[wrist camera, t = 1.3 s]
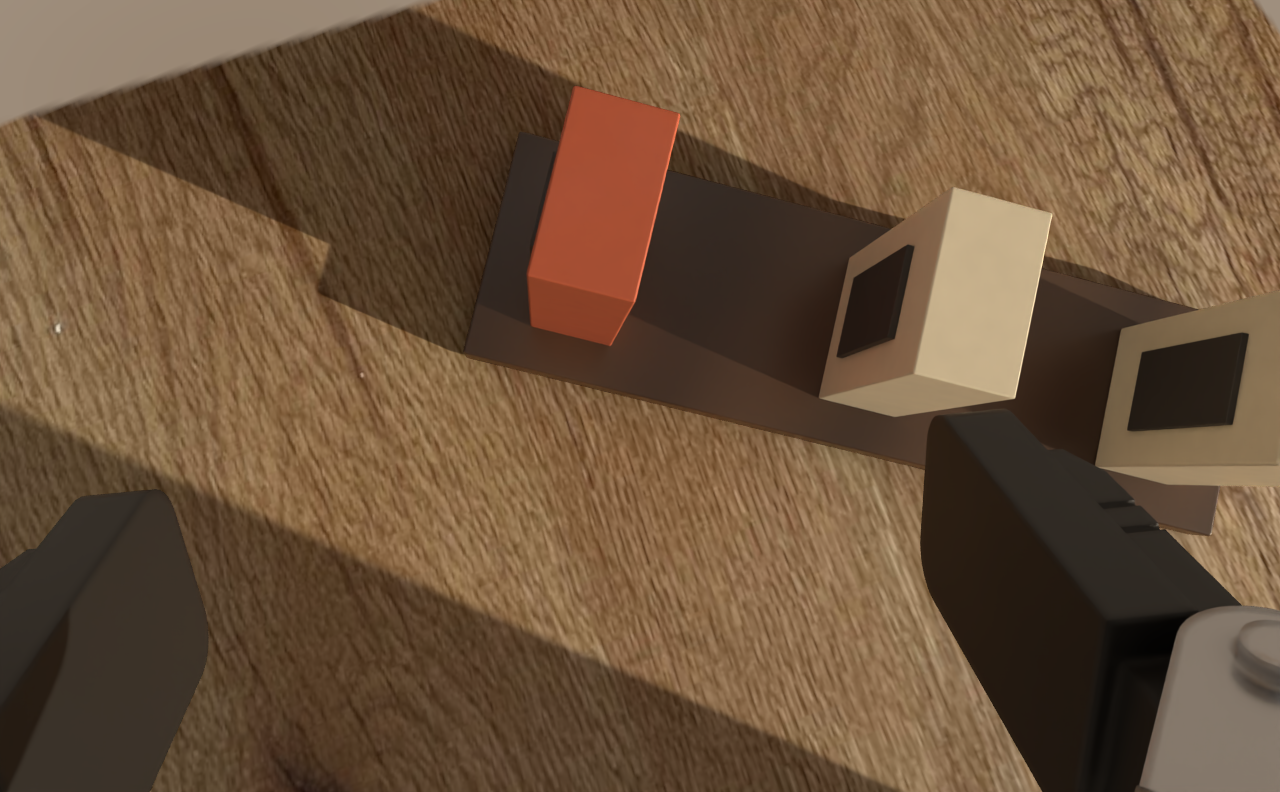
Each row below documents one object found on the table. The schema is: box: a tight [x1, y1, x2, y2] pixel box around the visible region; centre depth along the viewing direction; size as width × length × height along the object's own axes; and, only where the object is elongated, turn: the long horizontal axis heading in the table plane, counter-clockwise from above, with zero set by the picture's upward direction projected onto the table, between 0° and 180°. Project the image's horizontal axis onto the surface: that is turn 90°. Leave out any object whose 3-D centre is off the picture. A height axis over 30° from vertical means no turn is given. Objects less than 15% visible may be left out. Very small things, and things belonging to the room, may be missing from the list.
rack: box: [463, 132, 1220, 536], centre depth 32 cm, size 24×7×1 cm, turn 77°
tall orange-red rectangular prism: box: [527, 86, 680, 346], centre depth 27 cm, size 3×4×8 cm, turn 166°
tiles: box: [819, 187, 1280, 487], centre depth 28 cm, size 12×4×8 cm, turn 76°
